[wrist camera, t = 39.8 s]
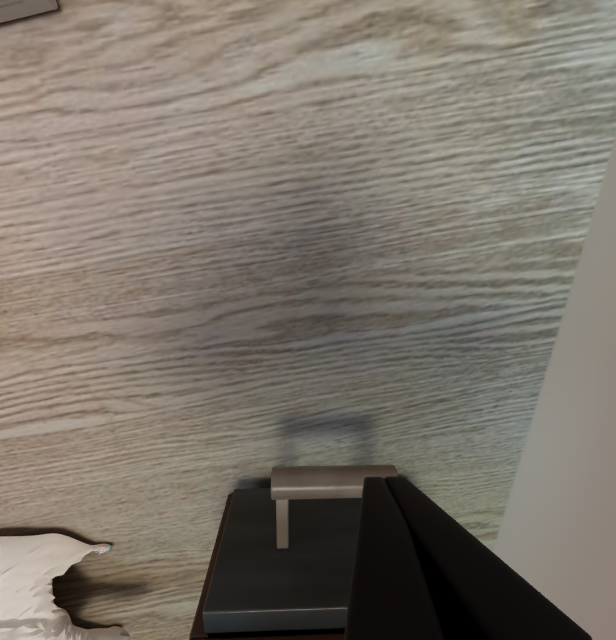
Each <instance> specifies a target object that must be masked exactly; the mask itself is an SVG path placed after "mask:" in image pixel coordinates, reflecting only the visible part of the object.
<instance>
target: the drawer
mask: <svg viewBox="0 0 616 640" xmlns="http://www.w3.org/2000/svg"><path fill="white" fill-rule="evenodd" d="M387 476H398V473H397V470H396V468H395V466H394V465H352V466H296V467H273V468H272V473H271V488H254V489H234V492H233V496H232V500H231V504H230V508H229V512H228V515H227V519H226V523H225V527H224V531H223V535H222V539H221V543H220V546H219V550H218V554H217V558H216V562H215V566H214V570H213V574H212V578H211V581H210V585H209V589H208V593H207V597H206V601H205V605H204V609H203V621H204V632H205V633H225V632H227V635H226V638H236V637H262V636H288V635H297V630H305V629H331V628H345V626H346V618H347V610H348V602H349V594H350V586H351V578H352V571H353V563H354V555H355V547H356V539H357V531H358V523H359V515H360V507H361V499H362V491H363V483H364V478H365V477H383V478H385V477H387Z"/></svg>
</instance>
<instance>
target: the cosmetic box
mask: <svg viewBox="0 0 616 640" xmlns="http://www.w3.org/2000/svg"><path fill="white" fill-rule="evenodd" d="M57 8H58V5H57V2H56V0H0V23H1V22H6V21H10V20H14V19H18V18H22V17H26V16H30V15H35V14H39V13H42V12H46V11H51V10H56V9H57Z"/></svg>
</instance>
